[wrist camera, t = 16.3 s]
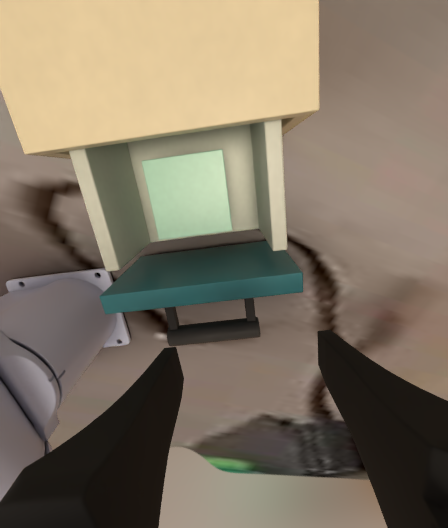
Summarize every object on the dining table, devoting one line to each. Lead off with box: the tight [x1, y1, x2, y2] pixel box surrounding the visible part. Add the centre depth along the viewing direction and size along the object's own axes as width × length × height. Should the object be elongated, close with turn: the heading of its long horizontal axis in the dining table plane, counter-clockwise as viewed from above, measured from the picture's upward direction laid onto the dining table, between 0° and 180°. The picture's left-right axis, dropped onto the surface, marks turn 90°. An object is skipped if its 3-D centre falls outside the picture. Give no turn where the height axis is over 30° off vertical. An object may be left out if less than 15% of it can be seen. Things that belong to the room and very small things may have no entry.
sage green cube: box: [141, 149, 232, 240], centre depth 16 cm, size 4×4×4 cm
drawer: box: [69, 119, 303, 346], centre depth 16 cm, size 18×11×7 cm, turn 7°
